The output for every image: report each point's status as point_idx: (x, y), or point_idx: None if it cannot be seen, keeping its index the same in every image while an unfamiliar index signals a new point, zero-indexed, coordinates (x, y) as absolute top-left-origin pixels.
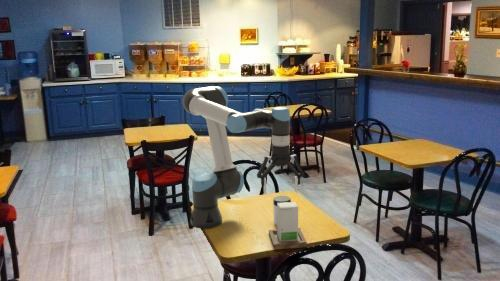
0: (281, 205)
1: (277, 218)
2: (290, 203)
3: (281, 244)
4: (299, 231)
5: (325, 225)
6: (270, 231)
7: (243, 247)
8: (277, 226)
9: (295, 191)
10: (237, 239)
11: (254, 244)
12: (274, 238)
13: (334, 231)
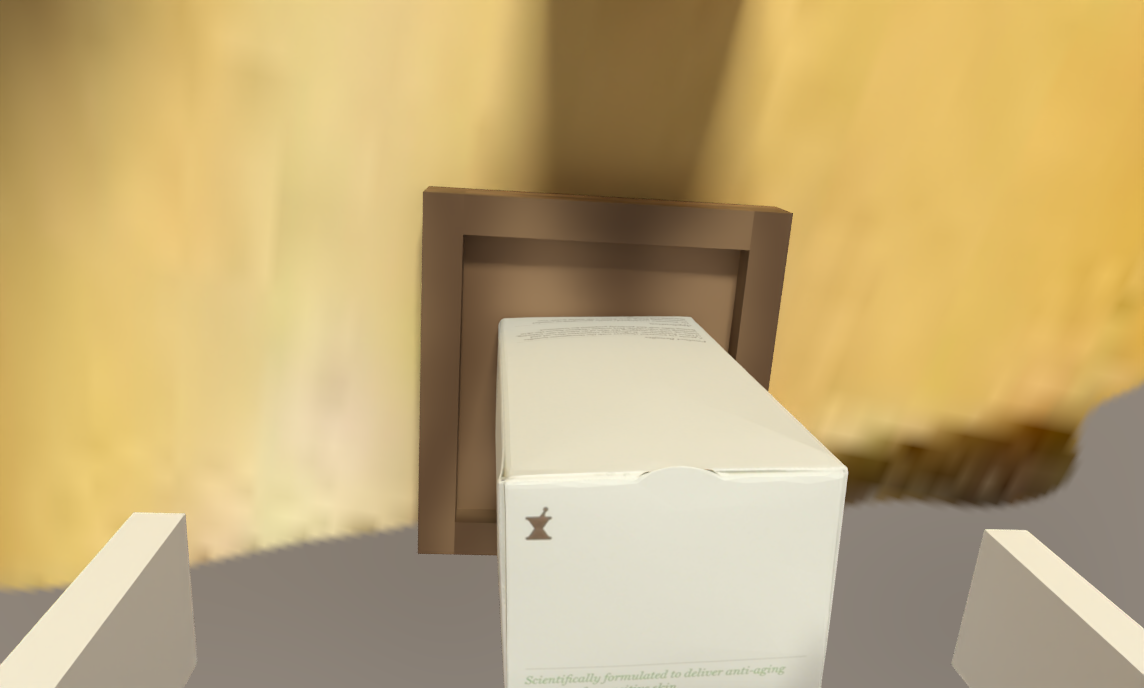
0: (551, 629)
1: (498, 425)
2: (740, 551)
3: (496, 551)
4: (758, 312)
5: (1117, 82)
6: (436, 243)
7: (127, 438)
8: (497, 391)
9: (966, 624)
10: (57, 239)
11: (245, 395)
12: (449, 429)
13: (1125, 262)
